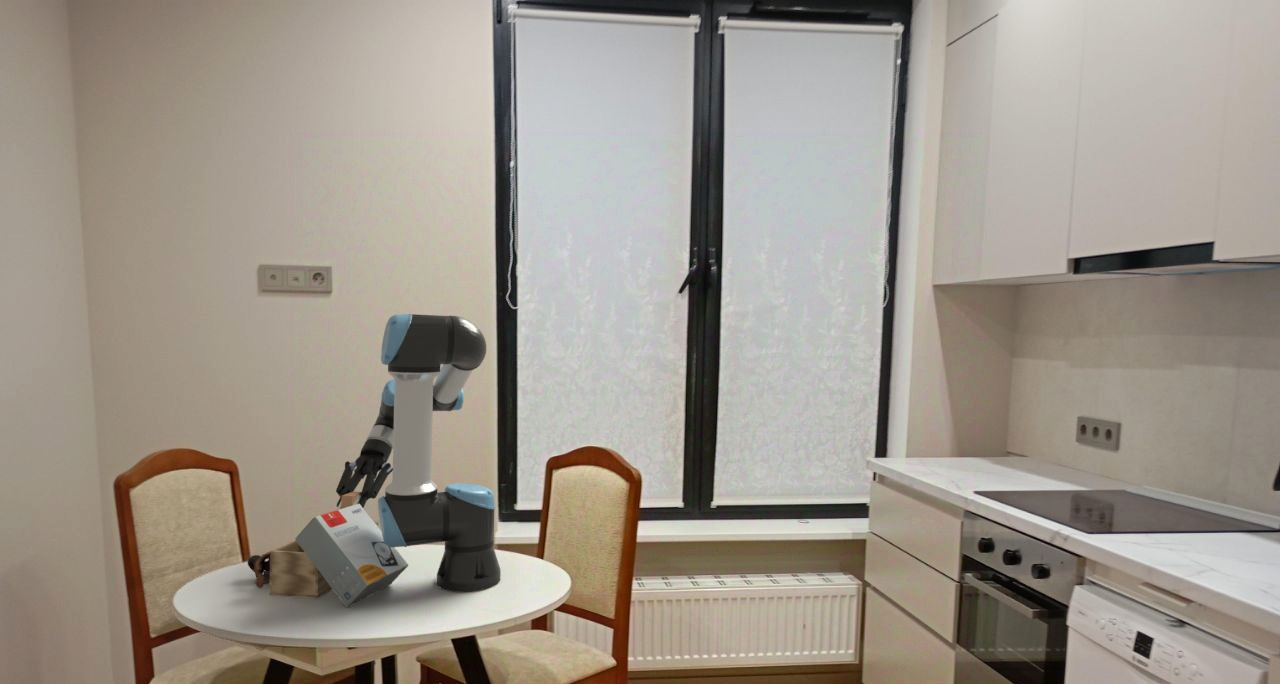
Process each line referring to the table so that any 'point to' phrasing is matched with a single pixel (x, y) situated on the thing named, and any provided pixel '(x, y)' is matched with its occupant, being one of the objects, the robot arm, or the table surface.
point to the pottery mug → (260, 568)
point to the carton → (295, 573)
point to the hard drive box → (351, 553)
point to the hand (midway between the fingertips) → (343, 519)
